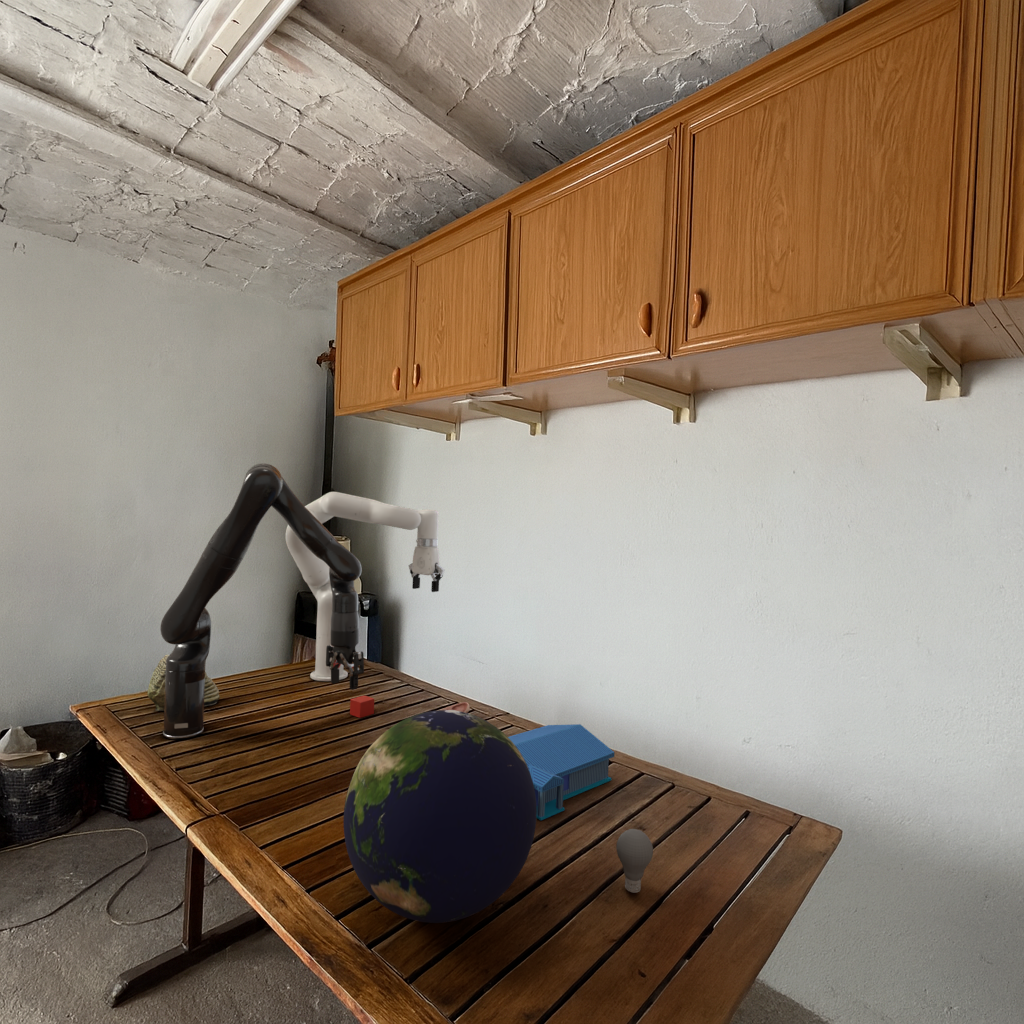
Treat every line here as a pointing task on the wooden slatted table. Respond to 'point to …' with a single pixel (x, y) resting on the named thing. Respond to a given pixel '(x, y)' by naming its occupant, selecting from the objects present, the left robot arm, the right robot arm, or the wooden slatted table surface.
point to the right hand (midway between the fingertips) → (425, 590)
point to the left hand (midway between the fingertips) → (344, 685)
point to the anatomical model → (459, 707)
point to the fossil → (158, 687)
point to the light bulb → (634, 857)
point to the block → (362, 706)
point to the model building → (562, 763)
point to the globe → (440, 816)
